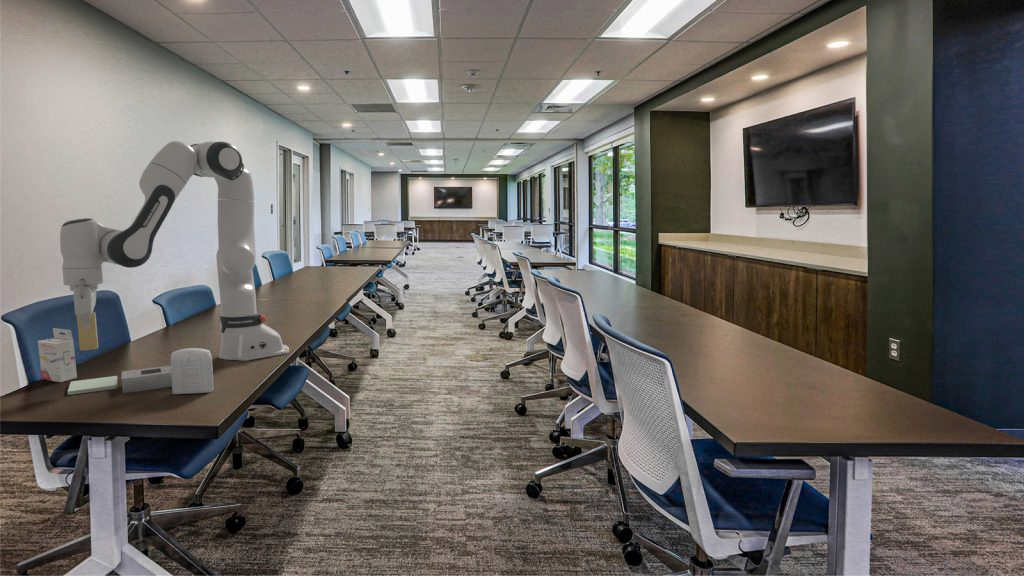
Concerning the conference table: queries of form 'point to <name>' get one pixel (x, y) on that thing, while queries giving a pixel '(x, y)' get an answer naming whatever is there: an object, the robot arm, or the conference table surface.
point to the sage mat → (92, 385)
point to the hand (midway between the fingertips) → (87, 327)
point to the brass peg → (88, 334)
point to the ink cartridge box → (58, 357)
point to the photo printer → (191, 371)
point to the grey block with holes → (146, 379)
